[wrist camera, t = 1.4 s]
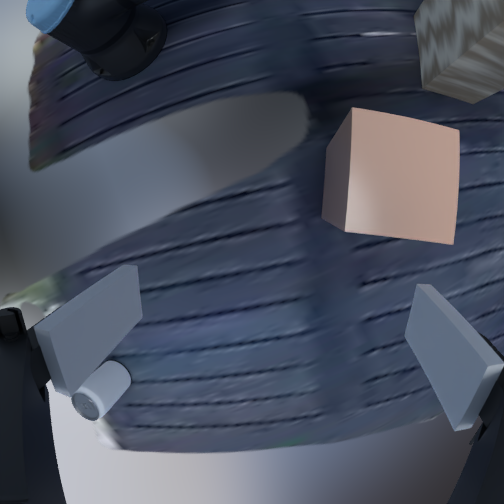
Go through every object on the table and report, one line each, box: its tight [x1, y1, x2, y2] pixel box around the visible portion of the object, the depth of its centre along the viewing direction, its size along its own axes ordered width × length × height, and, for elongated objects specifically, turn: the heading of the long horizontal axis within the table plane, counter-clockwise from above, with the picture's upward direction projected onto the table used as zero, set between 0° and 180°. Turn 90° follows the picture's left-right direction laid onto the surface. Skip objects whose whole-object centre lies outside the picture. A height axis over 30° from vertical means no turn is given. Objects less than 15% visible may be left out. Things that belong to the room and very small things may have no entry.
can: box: [71, 361, 131, 421], centre depth 46 cm, size 6×6×12 cm
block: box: [321, 108, 459, 245], centre depth 31 cm, size 10×10×20 cm
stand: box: [414, 0, 504, 104], centre depth 20 cm, size 15×10×30 cm, turn 176°
